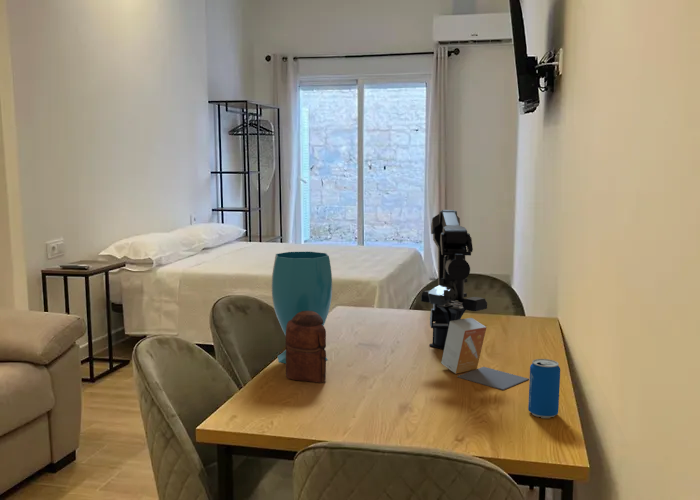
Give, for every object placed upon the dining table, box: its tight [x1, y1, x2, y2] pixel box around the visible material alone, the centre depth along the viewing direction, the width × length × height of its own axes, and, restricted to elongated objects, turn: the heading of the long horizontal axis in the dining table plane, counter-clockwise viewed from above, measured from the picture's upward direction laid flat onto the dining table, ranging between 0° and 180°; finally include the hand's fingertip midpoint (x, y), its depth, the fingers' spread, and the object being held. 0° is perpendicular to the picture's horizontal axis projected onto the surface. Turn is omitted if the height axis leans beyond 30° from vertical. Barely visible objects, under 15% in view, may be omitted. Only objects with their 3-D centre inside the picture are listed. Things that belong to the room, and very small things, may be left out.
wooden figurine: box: [285, 311, 327, 384], centre depth 169 cm, size 12×6×18 cm, turn 73°
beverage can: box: [527, 358, 561, 419], centre depth 146 cm, size 6×6×12 cm
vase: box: [271, 251, 333, 365], centre depth 187 cm, size 17×17×30 cm
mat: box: [457, 366, 530, 391], centre depth 172 cm, size 14×12×1 cm
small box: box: [440, 317, 487, 374], centre depth 177 cm, size 8×6×13 cm
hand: (452, 330), depth 180 cm, fingers closed
